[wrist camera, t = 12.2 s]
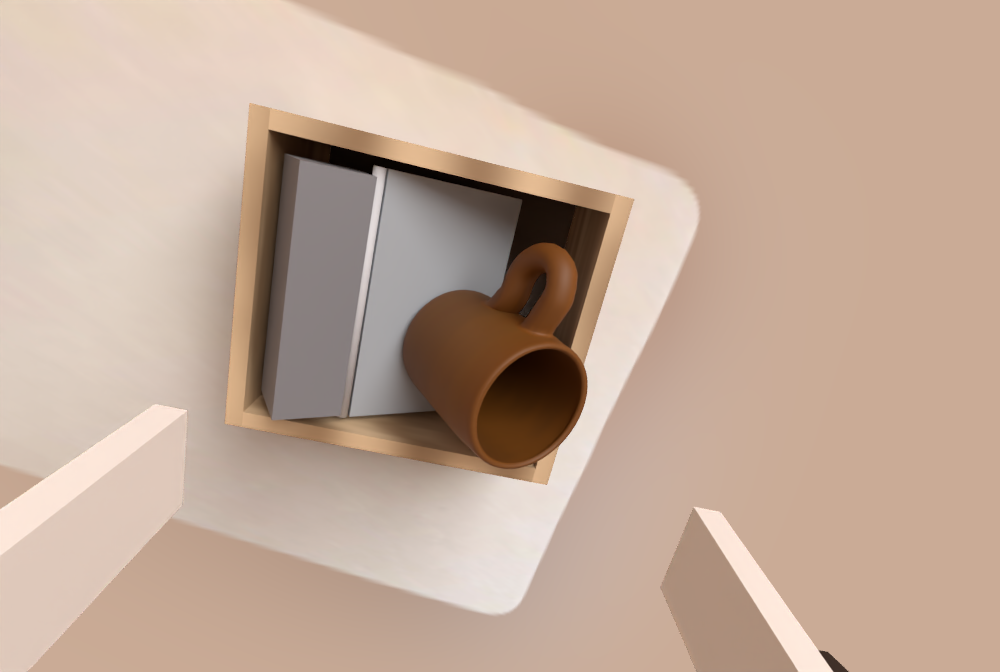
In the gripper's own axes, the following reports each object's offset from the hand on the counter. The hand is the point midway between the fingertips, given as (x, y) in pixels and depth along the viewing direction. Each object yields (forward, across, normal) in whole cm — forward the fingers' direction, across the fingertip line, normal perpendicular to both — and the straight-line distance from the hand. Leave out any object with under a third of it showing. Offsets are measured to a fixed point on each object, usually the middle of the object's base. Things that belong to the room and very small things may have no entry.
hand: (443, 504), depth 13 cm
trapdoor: (+21, -6, 0) cm, 22 cm away
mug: (+20, 0, 0) cm, 20 cm away
